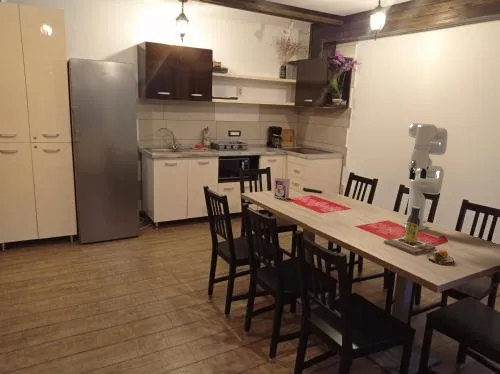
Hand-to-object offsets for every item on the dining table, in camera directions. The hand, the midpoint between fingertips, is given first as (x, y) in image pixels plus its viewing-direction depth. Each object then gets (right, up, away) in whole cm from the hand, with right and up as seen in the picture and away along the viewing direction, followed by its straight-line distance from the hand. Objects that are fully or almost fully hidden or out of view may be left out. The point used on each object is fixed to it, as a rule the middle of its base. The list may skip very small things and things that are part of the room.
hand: (417, 178), depth 209 cm
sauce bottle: (-8, -34, -9) cm, 36 cm away
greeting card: (-67, -13, +84) cm, 108 cm away
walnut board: (-8, -36, -9) cm, 37 cm away
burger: (-1, -40, -25) cm, 47 cm away
